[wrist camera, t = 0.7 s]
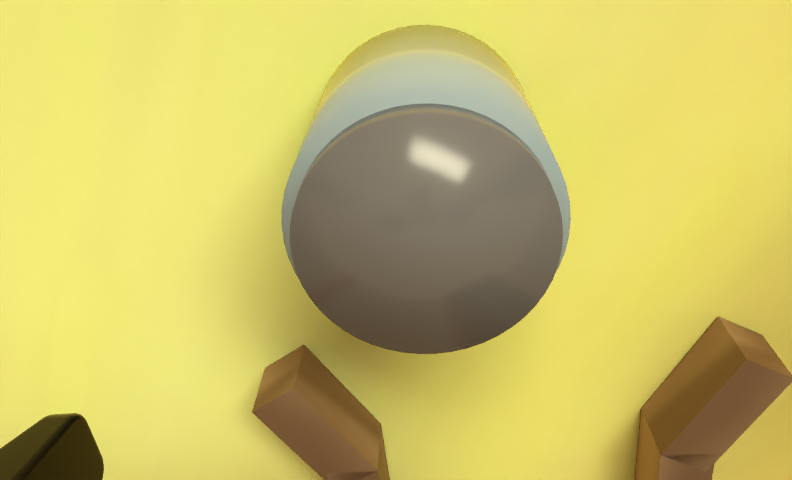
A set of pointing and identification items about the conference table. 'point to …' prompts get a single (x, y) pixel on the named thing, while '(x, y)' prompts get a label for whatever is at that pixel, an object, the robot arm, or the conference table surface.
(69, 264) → the conference table surface
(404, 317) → the jar
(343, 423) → the lane
